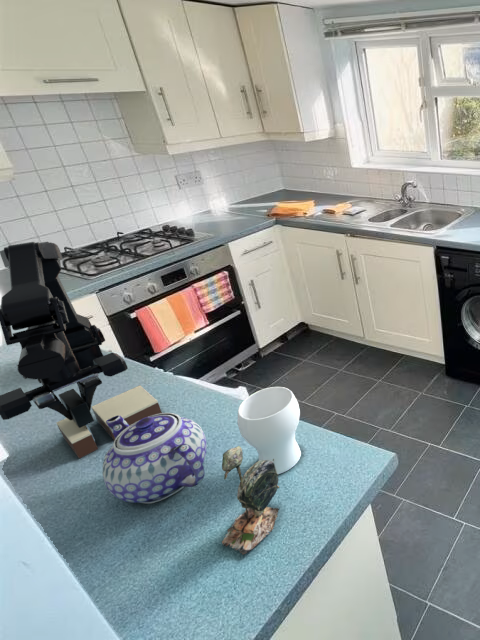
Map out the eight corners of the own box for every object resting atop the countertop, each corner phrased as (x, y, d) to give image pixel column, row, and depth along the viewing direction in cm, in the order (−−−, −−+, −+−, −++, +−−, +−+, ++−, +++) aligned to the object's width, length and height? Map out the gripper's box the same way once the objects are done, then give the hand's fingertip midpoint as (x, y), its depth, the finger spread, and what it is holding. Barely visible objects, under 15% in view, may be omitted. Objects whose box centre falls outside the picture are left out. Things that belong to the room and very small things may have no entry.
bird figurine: (301, 506, 78) (281, 422, 71) (241, 563, 69) (211, 473, 62) (272, 489, 82) (250, 407, 74) (211, 541, 72) (179, 453, 65)
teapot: (246, 472, 85) (228, 414, 80) (161, 541, 72) (133, 477, 66) (171, 432, 95) (150, 377, 89) (83, 486, 82) (53, 426, 76)
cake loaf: (145, 399, 104) (140, 385, 103) (163, 416, 99) (157, 400, 98) (98, 422, 97) (91, 406, 95) (114, 440, 92) (107, 424, 91)
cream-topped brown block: (82, 429, 95) (74, 414, 93) (98, 449, 90) (90, 432, 88) (64, 438, 93) (56, 422, 91) (79, 458, 88) (71, 442, 86)
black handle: (90, 424, 95) (73, 388, 91) (102, 439, 91) (86, 402, 88) (75, 430, 93) (58, 394, 90) (88, 446, 89) (70, 409, 86)
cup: (319, 451, 90) (307, 395, 85) (272, 490, 81) (256, 430, 76) (287, 433, 95) (274, 378, 89) (239, 468, 86) (222, 409, 80)
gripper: (97, 322, 96) (120, 378, 102) (-30, 364, 81) (5, 427, 87) (116, 337, 90) (139, 395, 96) (-17, 385, 76) (20, 450, 81)
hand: (79, 415), depth 90 cm, fingers closed on black handle, 2 cm apart
